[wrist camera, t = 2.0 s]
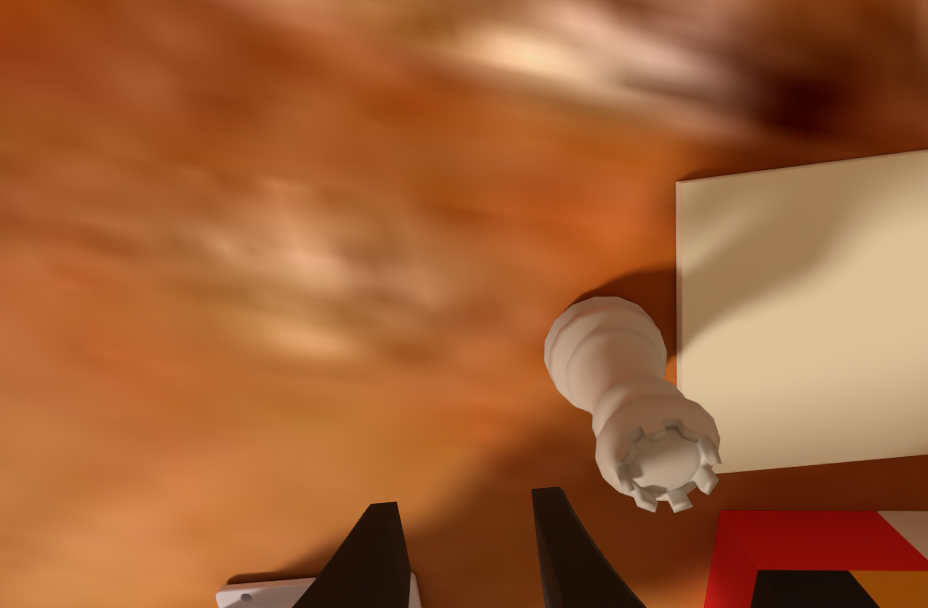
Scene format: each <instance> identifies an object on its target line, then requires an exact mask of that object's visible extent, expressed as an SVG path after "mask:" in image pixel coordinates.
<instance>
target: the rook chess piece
mask: <svg viewBox="0 0 928 608" xmlns="http://www.w3.org/2000/svg"><path fill="white" fill-rule="evenodd" d="M666 360H667V351H666V347H665V344H664V341H663V338H662V335H661V332H660V330H659V329H658V328H657V327H656V326H655V323H654V320H653V319H652V318H651V317H650V316H649V315H648V314H647V313H646V312H645V311H644V310H643V309H642V308H641V307H640V306H639V305H637V304H635V303H632V302H630V301H627V300H625V299H622V298H620V297H592V298H590V299H587V300H584V301H582V302H579V303H577V304H574V305H572V306H571V307H569V308H568V309H567V310H566V311H565V312H564V313H563V314H562V315H561V316H560V317H558V318H557V319H556V320H555V321H554V323H553V325H552V327H551V329H550V331H549V334H548V336H547V338H546V340H545V356H544V362H545V364H546V367H547V369H548V371H549V374H550V376H551V379H552V380H553V382H554V384H555V387H556V389H557V390H558V391H559V392H560V393H561V394H562V395H563V396H564V397H565V398H566V399H567V400H568V401H570V402H571V403H572V404H573V405H574V406H575V407H577V408H580V409H583V410H585V411H588V412H591V414H592V415H593V421H592V429H593V431H594V434H595V436H596V438H597V442H596V455H595V460H596V462H597V465H598V467H599V469H600V472H601V474H602V477H603V478H604V479H605V480H606V481H607V482H608V483H609V484H610V485H611V486H613V487H614V488H615V489H616V490H617V491H618V492H620V493H623V494H625V495H629V496H631V497H634V499H635V502H636V504H637V506H638V507H640V508H643V509H646V510H649V511H651V512H654V513H655V511H656V508H657V505H658V502H657V501H668V502H669V504H670V505H671V507H672V509H673V511H674V513H676V512H679V511H682V510H685V509H688V508H691V507H693V506H692V504H691V502H690V500H689V499H688V497H687V494H688V493H690V492H691V491H693V490H694V489H695V488H697V487H699V489H700V490H701V491H702V492H704V493H706V494H707V495H710V493H711V492H712V490H713V489H714V487H715V486H716V484H717V483H718V481H719V479H718V478H717V476H716V475H715V474H714V472H713V471H712V467H713V465H715V464H721V463H722V462H721V459H720V456H719V453H718V450H719V444H720V436H719V433H718V430H717V427H716V424H715V420H714V418H713V417H712V416H711V415H710V414H709V413H708V412H707V411H706V410H705V409H704V408H703V407H702V406H701V405H700V404H699V403H697V402H694V401H691V400H689V399H686V398H685V396H684V395H683V394H682V393H681V392H680V391H679V390H678V389H677V388H676V387H675V386H674V385H673V384H672V383H670V382H668V381H665V380H664V378H663V377H664V375H665V368H666Z"/></svg>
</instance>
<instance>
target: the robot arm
mask: <svg viewBox="0 0 928 608" xmlns="http://www.w3.org/2000/svg"><path fill="white" fill-rule="evenodd" d="M531 490H532V500H533V509H534V518H535V527H536V536H537V546H538V555H539V564H540V571H541V579H542V586H543V593H544V601H545V608H646V606H645V605H644V604H643V603H642V602H641V601H640V600H639V599H638V597H637V596H636V595H635V594H634V593H633V592H632V591H631V589H630V588H629V587H628V586H627V585H626V583H625V582H624V581H623V580H622V578H621V577H620V576H619V575H618V574H617V572H616V571H615V570H614V568H613V567H612V566H611V565H610V563H609V562H608V561H607V559H606V558H605V557H604V555H603V554H602V552H601V551H600V550H599V548H598V547H597V546H596V544H595V543H594V541H593V540H592V539H591V537H590V536H589V534H588V533H587V531H586V530H585V528H584V527H583V525H582V523H581V522H580V520H579V519H578V517H577V515H576V514H575V512H574V510H573V509H572V507H571V505H570V503H569V501H568V499H567V497H566V495H565V493H564V491H563V490H562V489H561V488H559V487H551V488H540V489H531ZM248 594H249V595H248ZM216 601H217V604H218V606H219V608H422V606H421V601H420V596H419V591H418V586H417V581H416V577H415V575H414V574H413V573H412V572H411V568H410V564H409V559H408V554H407V549H406V544H405V539H404V534H403V530H402V525H401V520H400V515H399V510H398V505H397V502H387V503H376V504H371V505H370V506H369V507H368V508H367V509H366V511H365V512H364V513H363V515H362V516H361V518H360V519H359V521H358V522H357V523H356V525H355V526H354V528H353V529H352V530H351V532H350V533H349V535H348V536H347V538H346V539H345V540H344V542H343V543H342V544H341V546H340V547H339V549H338V550H337V551H336V553H335V554H334V555H333V557H332V558H331V559H330V561H329V562H328V563H327V565H326V566H325V567H324V568H323V570H322V571H321V572H320V574H319V575H318V576H317V578H305V579H293V580H281V581H269V582H257V583H245V584H233V585H224V586H222V587H221V588H220V589H219V591H218V592H217V594H216Z"/></svg>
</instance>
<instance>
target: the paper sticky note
mask: <svg viewBox="0 0 928 608" xmlns="http://www.w3.org/2000/svg"><path fill="white" fill-rule="evenodd" d="M676 307H677V389H678V390H679V391H680V392H681V393H682V394H683V395H684V396H685V398H686V399H689V400H691V401H694V402H697V403H699V404H700V405H701V406H702V407H703V408H704V409H705V410H706V411H707V412H708V413H709V414H710V415H711V416H712V417H713V418H714V420H715V424H716V427H717V430H718V433H719V436H720V444H719V450H718V453H719V456H720V459H721V462H722V463H721V464H715V465H713V467H712V471H713V472H714V474H719V473H730V472H741V471H752V470H763V469H774V468H785V467H796V466H806V465H817V464H828V463H839V462H850V461H861V460H872V459H883V458H894V457H905V456H916V455H927V454H928V149H927V150H919V151H911V152H904V153H896V154H888V155H880V156H872V157H865V158H857V159H849V160H841V161H834V162H826V163H818V164H810V165H803V166H795V167H787V168H779V169H772V170H764V171H756V172H748V173H741V174H733V175H725V176H717V177H709V178H702V179H694V180H686V181H678V182H676Z"/></svg>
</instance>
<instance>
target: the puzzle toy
mask: <svg viewBox="0 0 928 608" xmlns="http://www.w3.org/2000/svg"><path fill="white" fill-rule="evenodd" d="M704 608H928V511H771V510H720V514H719V520H718V526H717V532H716V538H715V544H714V550H713V556H712V562H711V568H710V574H709V580H708V586H707V592H706V598H705V604H704Z"/></svg>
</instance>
